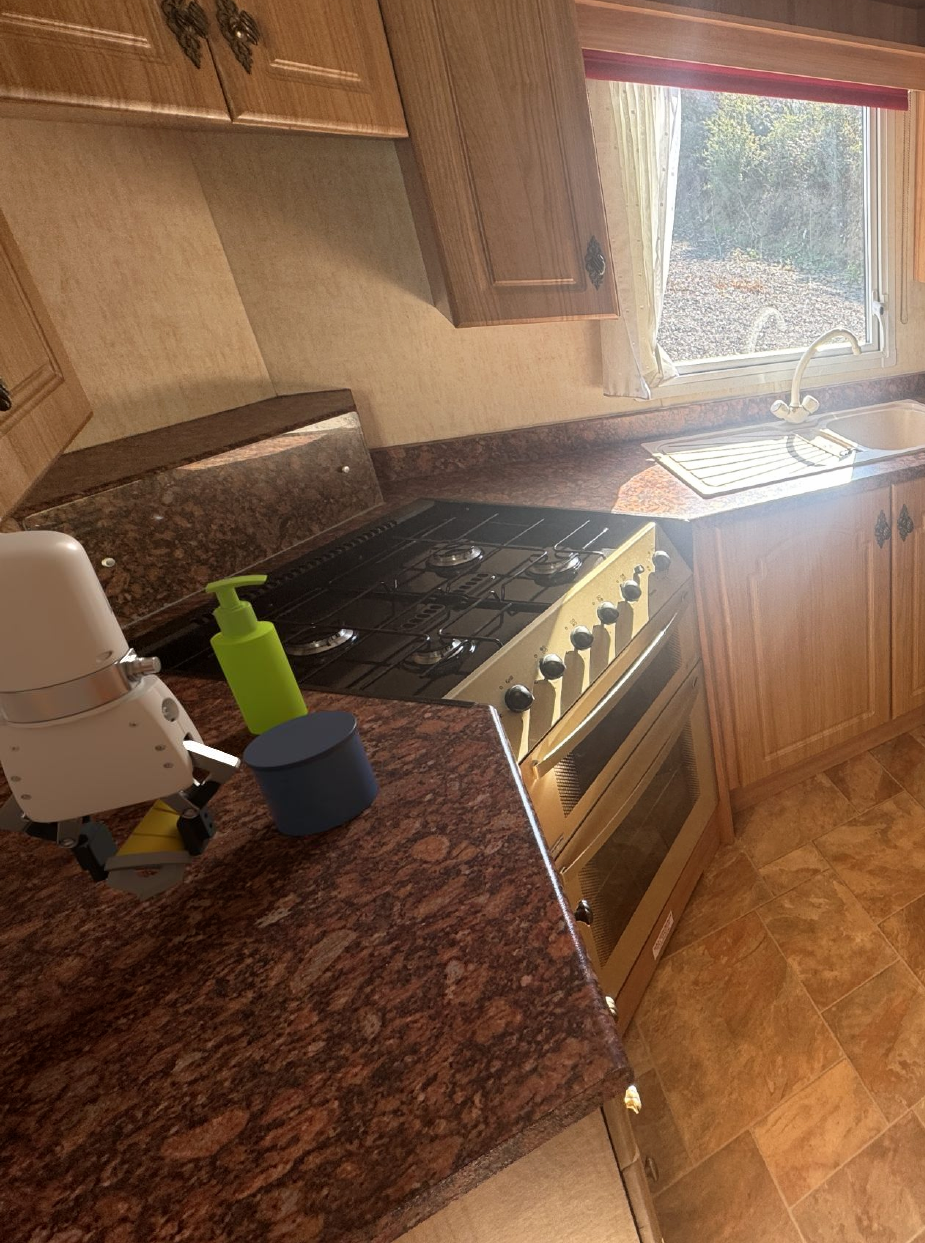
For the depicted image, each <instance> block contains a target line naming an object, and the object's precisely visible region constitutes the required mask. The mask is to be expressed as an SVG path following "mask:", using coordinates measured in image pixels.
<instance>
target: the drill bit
mask: <svg viewBox="0 0 925 1243" xmlns="http://www.w3.org/2000/svg"><path fill="white" fill-rule="evenodd" d="M155 800H156V801H155V802H154V803H153V806H151V807H150V808H149V810H148V811H147V812H146V814H145V815H144V817H143V818H142V819H141V820H140V821H139V823H138V824H137V826H136V827H135V828H134V829H133V831H132V833H131V834H130V835H129V837H128V838H127V839H126V840H125V841H124V843H123V845H122V846H121V847H120V849H118V850H119V851H118V853H117V854H116V855H115V856H113V857H109V858H107V861H106V864H105V868H104V871H110V872H109V875H108V878H106V882H105V887H106V888H111V889H114V890H119V891H123V892H125V893H130V894H133V895H137V896H138V895H139V896H140V900H139V903H142V902H143V901H145V900H148V899H150V898H151V897H154V896H156V895H158V894H160V893H161V892H163V891H165V890H167V889H169V888H171V887H174V886H175V885H178V884H179V883H182V882H183V878H184V876H185V872H186V868H187V866H188V865H189V866H190V865H192V864H193V860H194V857H195V856H193V855H192V856H191V855H190V854H189V852H188V849H187V847H186V845H185V843H184V841H183V839H182V837H181V835H180V833H179V831H178V829H177V826H176V823H177V821H178V819H179V817H180V815H179V814H178V813H177V812H175V811H174V810H173V809H172V808H170V807H169V806H168V805H167V804H165V803H164V802H163V801H162V800H160V799H159V798H158V799H155ZM158 869H160V870H159V871H158V872H156V873H155V874H153V875H150V876H141V875H138V873H136V871H147V870H158Z"/></svg>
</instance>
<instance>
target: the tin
mask: <svg viewBox="0 0 925 1243" xmlns="http://www.w3.org/2000/svg"><path fill="white" fill-rule="evenodd" d="M358 729H359V724H358V721H357V718H356V716H355V715H354V714H352V713H350V712H348V711H343V710H324V711H322V710H321V711H317V712H312V713H307V715H303V716H300V717H297V718H294V719H291V720H288V721H286V722H283V723H281V724H279V725H277V726H275V727H273V728H271V729H269V730H267V731H266V732H264V733H262V734H259V735H258V736H256V737H255V738H254V739H253V740H252V741H251V742H250V743H248V745H247V746H246V748H245V749H244V751H243V754H242V759H243V762H244V764H245V766H246V767H247V768H248V769H250V771H251V773H252V775H253V777H254V780H255V782H256V784H257V786H258V788H259V791H260V793H261V796H262V797H263V800H264V802H265V804H266V806H267V809H268V811H269V814H270V815H271V818H272V820H273V821H274V824H275V827H276V829H277V830H278V832H280V833H282V834H283V835H287V836H290V837H291V836H292V837H293V836H294V837H302V836H311V835H316V834H318V833H323V832H326V831H329V830H332V829H335V828H336V827H339V826H340V825H343V824H345V823H347V822H349V821H351V820H352V819H354V818H355V817H357V816H358V815H361V813H363V812H364V811H366V809H368V807H370V805H371V804H373V802H374V801H375V800H376V798H377V797H378V793H379V789H380V788H379V784H378V780H377V779H376V776H375V773H374V771H373V768H372V765H371V763H370V760H369V757H368V754H367V752H366V749H365V746H364V743H363V741H362V738H361V736H360V733H359V730H358Z"/></svg>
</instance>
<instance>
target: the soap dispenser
mask: <svg viewBox="0 0 925 1243" xmlns="http://www.w3.org/2000/svg"><path fill="white" fill-rule="evenodd" d="M267 577H268V575H267V574H250V575H241V576H234V577H229V578H225V579H221V580H216V581H213V582H208V583H207V585H206V587H205V589H204V590H205V593H206V594H207V595H208V594H212V593H215V595H216V598H217V600H218V603H219V606H217V608H215V609H214V610H213V616H214V617H215V618H214V619H215V620H216V623H217V626H218V627H219V629H220V632H218V633H216V634H214V635H213V636H212V637H211V638H210V640H209V642H210V645H211V647H212V649H213V651H214V654H215V656H216V658H217V660H218V663H219V665H220V668H221V670H222V672H223V674H224V676H225V678H226V681H227V683H228V686H229V688H230V690H231V692H232V694H233V697H234V699H235V701H236V704H237V706H238V708H239V710H240V713H241V715H242V717H243V720H244V722H245V724H246V726H247V728H248V731H249V732H250V733H251V734H254V735H261V734H262V733H264V732H266V731H267V730H269V729H271V728H273V727H275V726H277V725H279V724H281V723H283V722H286V721H288V720H291V719H294V718H297V717H300V716H303V715H307V714H309V711H308V708H307V706H306V703H305V700H304V698H303V695H302V693H301V689H300V688H299V685H298V683H297V679H296V677H295V675H294V673H293V670H292V668H291V665H290V663H289V660H288V657H287V655H286V653H285V650H284V648H283V645H282V642H281V640H280V638H279V635H278V632H277V630H276V627H275V625H274V623H272V622H271V621H265V620H263V621H262V620H260V621H258V619H257V616H256V613H255V611H254V609H253V607H252V604H251V602H249V601H247V600H240V599H239V597H238V594H237V592H236V588H238V587H244V586H254V585H256V586H257V585H263V584H264V583H265V582H266V581H267Z"/></svg>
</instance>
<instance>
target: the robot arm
mask: <svg viewBox="0 0 925 1243" xmlns="http://www.w3.org/2000/svg"><path fill="white" fill-rule="evenodd" d="M128 644H129V643H128V642H127V640H126V638H125V635H124V633H123V631H122V628H121V627H120V624H119V621H118V620H117V618H116V615H115V613H114V611H113V609H112V606H111V604H110V603H109V600H108V598H107V596H106V593H105V591H104V588H103V586H102V584H101V583H100V580H99V578H98V576H97V574H96V572H95V569H94V568H93V565H92V562H91V560H90V558H89V556H88V554H87V552H86V550H85V548H84V546H83V545H82V544H81V543H80V542H79V541H78V540H77V539H75V538H74V537H73V536H71V535H69V534H67V533H64V532H60V531H54V530H24V531H13V532H6V533H5V532H0V764H1V767H2V769H3V772H4V775H5V778H6V781H7V783H8V785H9V788H10V790H11V792H12V793H11V795H10V796H9V797H8V798H7V800H6V801H5V802H4V804H3V805H2V806H1V807H0V830H4V831H9V832H10V831H11V832H16V833H25V834H26V835H27V836H29V837H33V838H37V839H42V840H46V841H49V842H50V841H51V842H53V843H54V842H55V843H56V845H57V847H58V848H59V849H63V850H71V852H72V854H73V855H74V858H75V859H76V861H77V863H78V864H79V867H80V868H81V870H82V871H83V872H86V871H88V873H89V875H90V877H91V878H92V880H93V882H94V883H99V882H103V881H105V880H106V881H107V878H108V875H109V872H110V871H104V868H105V864H106V861H107V858H109V857H113V856H115V855H116V854H117V853H118V851H119V850H120V849H119V848H118V846H117V844H116V842H115V840H114V838H113V836H112V835H111V832H110V831H109V829H108V827H107V825H106V824H105V823H103V822H102V821H97V822H94V814H99V813H102V812H107V811H113V810H115V809H119V808H120V809H121V808H124V807H129V806H134V805H136V804H137V805H138V804H142V803H144V802H150V801H153V800H157V799H158V798H159V799H160V800H162V801H163V802H164V803H165V804H167V805H168V806H169V807H170V808H172V809H173V810H174V811H175V812H177V813H178V814H179V815H180V817H179V819H178V821H177V823H176V826H177V829H178V831H179V833H180V835H181V837H182V839H183V841H184V843H185V845H186V847H187V849H188V852H189V854H190V855H191V856H192V855H193V856H194V857H197V856H202V855H203V854H204V852H205V850H206V848H207V846H208V844H209V842H210V839H212V838H214V837H215V834H216V832H217V827H216V823H215V821H214V818H213V817H212V814H211V812H210V810H209V808H208V805H207V804H208V803H209V802H210V801H211V800H212V798H214V796H215V795H216V794H217V792H218V791H219V789H221V788H222V786H223V785H225V784H226V783H227V782H228V781H229V780H231V778H232V777H234V775H236V773H237V772H238V770H239V768H240V765H241V764H242V760H241V759H240V758H239V757H236V756H233V755H231V754H229V753H225V752H223V751H220V750H218V749H214V748H212V747H209V746H206V745H205V744H204V740H203V739H202V737H201V735H200V733H199V731H198V730H197V728H196V726H195V724H194V722H193V721H192V719H191V718H190V716H189V714H188V713H187V712H186V710H185V708H184V706H183V705H182V704H181V702H180V701H179V700H178V698H177V697H176V695H174V694H173V692H172V691H171V690H170V689H169V687H168V686H167V685H166V684H165V683H164V682H163V681H162V680H161V679H160V677H158V676H157V675H156V673H159V672H160V671H161V669H162V664H161V661H160V659H159V657H158V656H150V657H145V656H141V657H139V656H138V655H137V653H136V651H135V649H134V648H133V647H132V648H131V647H129V645H128ZM194 767H197V768H199V769H202V770H204V771H208V772H209V774H208V775H207V776H205V778H203V779H202V780H201V782H199V781H198V780H197V779H196V778H194V775H193V772H194Z"/></svg>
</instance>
